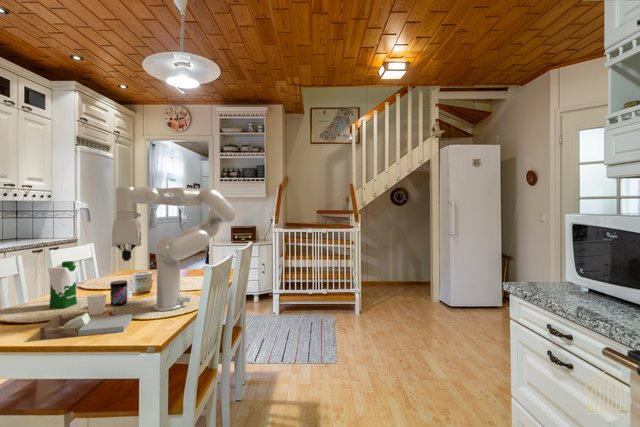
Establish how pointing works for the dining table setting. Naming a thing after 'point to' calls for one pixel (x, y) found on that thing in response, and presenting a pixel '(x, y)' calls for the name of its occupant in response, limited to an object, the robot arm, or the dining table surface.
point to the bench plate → (105, 325)
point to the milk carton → (63, 285)
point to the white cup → (96, 304)
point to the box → (53, 328)
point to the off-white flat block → (78, 321)
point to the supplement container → (118, 292)
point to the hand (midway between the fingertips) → (126, 260)
